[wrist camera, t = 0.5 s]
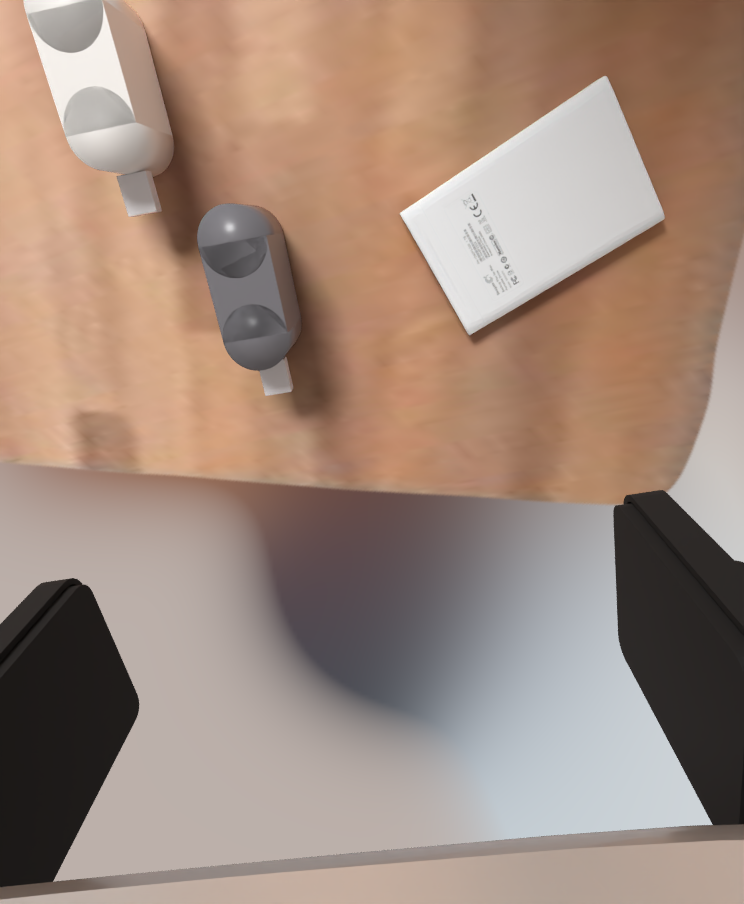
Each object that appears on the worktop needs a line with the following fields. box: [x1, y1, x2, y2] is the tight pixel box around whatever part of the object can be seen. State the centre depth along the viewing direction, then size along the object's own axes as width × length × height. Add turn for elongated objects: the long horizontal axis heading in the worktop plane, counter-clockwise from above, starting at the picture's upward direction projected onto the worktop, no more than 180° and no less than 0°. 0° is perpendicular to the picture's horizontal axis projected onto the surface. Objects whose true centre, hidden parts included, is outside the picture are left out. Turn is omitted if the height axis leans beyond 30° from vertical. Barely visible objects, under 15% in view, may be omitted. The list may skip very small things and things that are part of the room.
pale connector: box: [24, 0, 174, 217], centre depth 30 cm, size 11×4×5 cm, turn 10°
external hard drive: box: [400, 76, 665, 335], centre depth 33 cm, size 2×8×12 cm
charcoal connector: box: [197, 204, 302, 396], centre depth 33 cm, size 11×4×5 cm, turn 10°
